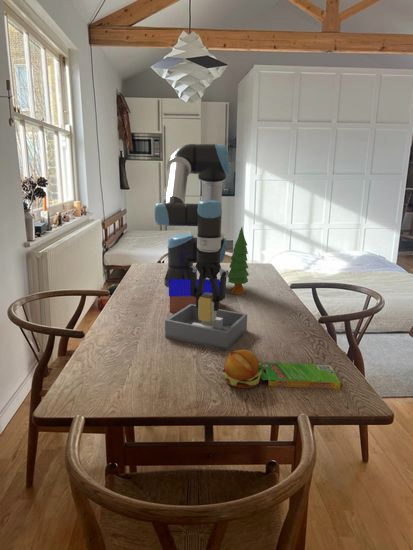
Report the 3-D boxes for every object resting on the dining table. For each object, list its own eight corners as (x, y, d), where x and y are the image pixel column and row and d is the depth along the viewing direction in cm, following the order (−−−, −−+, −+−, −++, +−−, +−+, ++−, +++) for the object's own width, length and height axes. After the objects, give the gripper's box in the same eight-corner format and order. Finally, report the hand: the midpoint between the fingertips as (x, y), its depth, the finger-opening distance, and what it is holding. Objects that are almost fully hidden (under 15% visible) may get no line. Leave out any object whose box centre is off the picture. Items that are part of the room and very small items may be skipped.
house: (168, 302, 171) (168, 275, 168) (217, 302, 173) (217, 275, 170) (168, 312, 160) (168, 283, 157) (220, 312, 162) (221, 283, 158)
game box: (339, 393, 109) (260, 386, 109) (329, 374, 118) (257, 368, 118) (340, 382, 108) (262, 375, 108) (331, 364, 117) (258, 358, 118)
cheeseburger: (265, 374, 115) (266, 345, 110) (257, 402, 106) (257, 372, 101) (229, 367, 118) (229, 339, 113) (219, 394, 109) (218, 364, 104)
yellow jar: (198, 320, 138) (199, 294, 136) (204, 316, 142) (204, 291, 139) (209, 322, 136) (210, 296, 134) (214, 318, 140) (215, 293, 138)
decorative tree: (241, 296, 180) (244, 227, 172) (222, 293, 184) (224, 225, 176) (250, 291, 188) (254, 225, 180) (231, 287, 192) (234, 223, 184)
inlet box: (165, 337, 137) (165, 320, 136) (190, 319, 153) (190, 303, 151) (226, 350, 128) (227, 332, 127) (246, 330, 144) (247, 314, 142)
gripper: (179, 248, 133) (179, 317, 139) (229, 254, 126) (226, 326, 132) (190, 244, 140) (189, 310, 146) (237, 250, 133) (235, 318, 139)
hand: (207, 317), depth 139 cm, fingers closed on yellow jar, 4 cm apart
